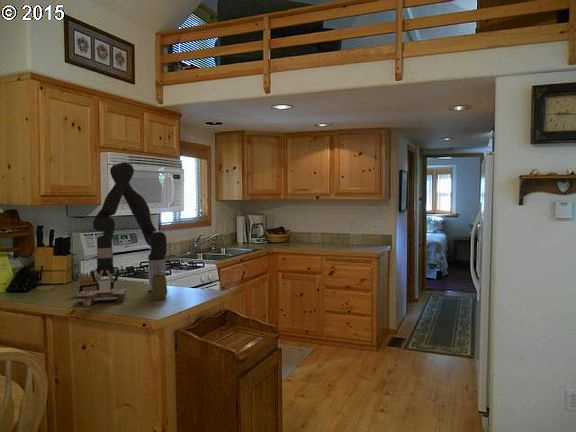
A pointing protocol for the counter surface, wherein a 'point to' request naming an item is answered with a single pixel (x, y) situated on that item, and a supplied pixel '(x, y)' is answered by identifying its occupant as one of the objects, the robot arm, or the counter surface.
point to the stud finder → (105, 285)
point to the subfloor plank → (101, 295)
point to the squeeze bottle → (159, 284)
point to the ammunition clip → (87, 283)
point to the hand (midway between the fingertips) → (105, 289)
